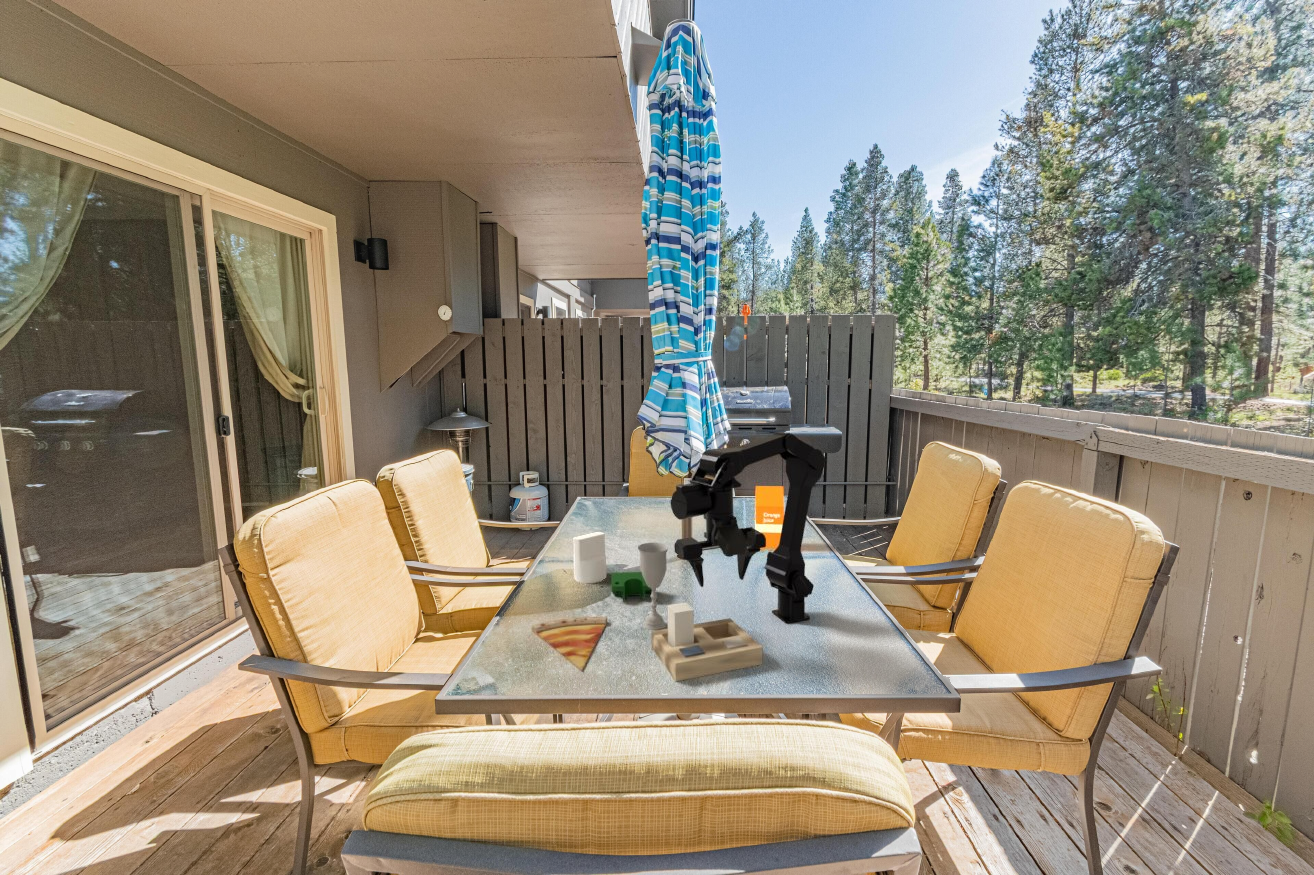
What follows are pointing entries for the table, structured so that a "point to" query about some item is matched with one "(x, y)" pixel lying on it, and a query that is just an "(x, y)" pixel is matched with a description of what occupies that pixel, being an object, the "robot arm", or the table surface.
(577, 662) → the pizza slice
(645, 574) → the chalice
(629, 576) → the clamp
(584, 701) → the table surface
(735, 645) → the socket board
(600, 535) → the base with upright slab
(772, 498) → the orange juice
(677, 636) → the plug
